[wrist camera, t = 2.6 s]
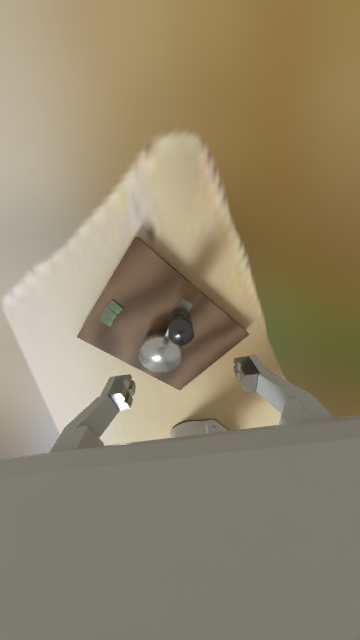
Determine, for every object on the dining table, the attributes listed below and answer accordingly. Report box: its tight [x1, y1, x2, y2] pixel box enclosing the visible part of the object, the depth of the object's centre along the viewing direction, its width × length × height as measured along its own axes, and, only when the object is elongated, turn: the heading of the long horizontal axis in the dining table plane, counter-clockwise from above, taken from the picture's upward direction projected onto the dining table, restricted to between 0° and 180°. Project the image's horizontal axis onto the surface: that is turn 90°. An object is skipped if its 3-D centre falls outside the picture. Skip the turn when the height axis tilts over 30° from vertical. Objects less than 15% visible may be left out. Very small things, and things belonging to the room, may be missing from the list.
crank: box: [139, 297, 194, 372], centre depth 21 cm, size 14×7×7 cm, turn 155°
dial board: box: [77, 237, 249, 390], centre depth 25 cm, size 24×20×2 cm
